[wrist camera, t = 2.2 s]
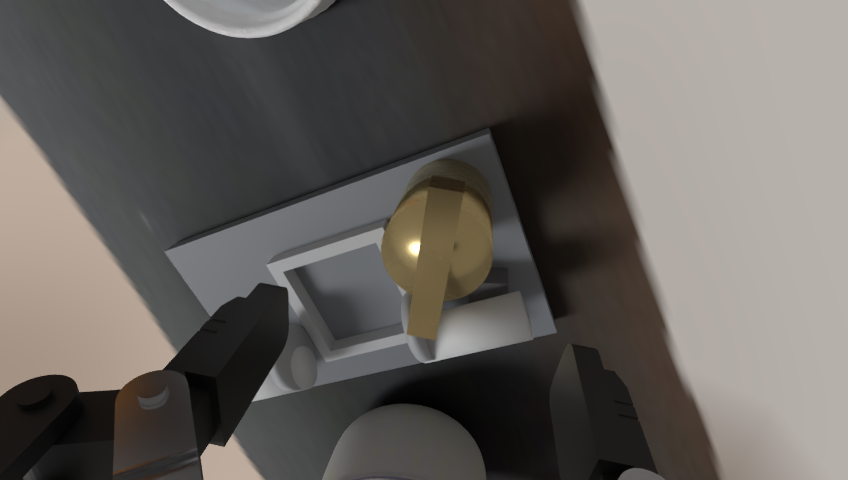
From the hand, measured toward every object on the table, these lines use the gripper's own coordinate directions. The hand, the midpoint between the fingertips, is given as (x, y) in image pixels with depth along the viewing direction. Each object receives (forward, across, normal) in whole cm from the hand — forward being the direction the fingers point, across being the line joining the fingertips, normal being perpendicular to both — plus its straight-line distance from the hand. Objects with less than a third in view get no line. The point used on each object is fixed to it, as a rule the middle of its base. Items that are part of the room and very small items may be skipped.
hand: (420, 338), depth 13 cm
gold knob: (+11, 0, 0) cm, 11 cm away
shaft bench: (+12, +4, +7) cm, 14 cm away
